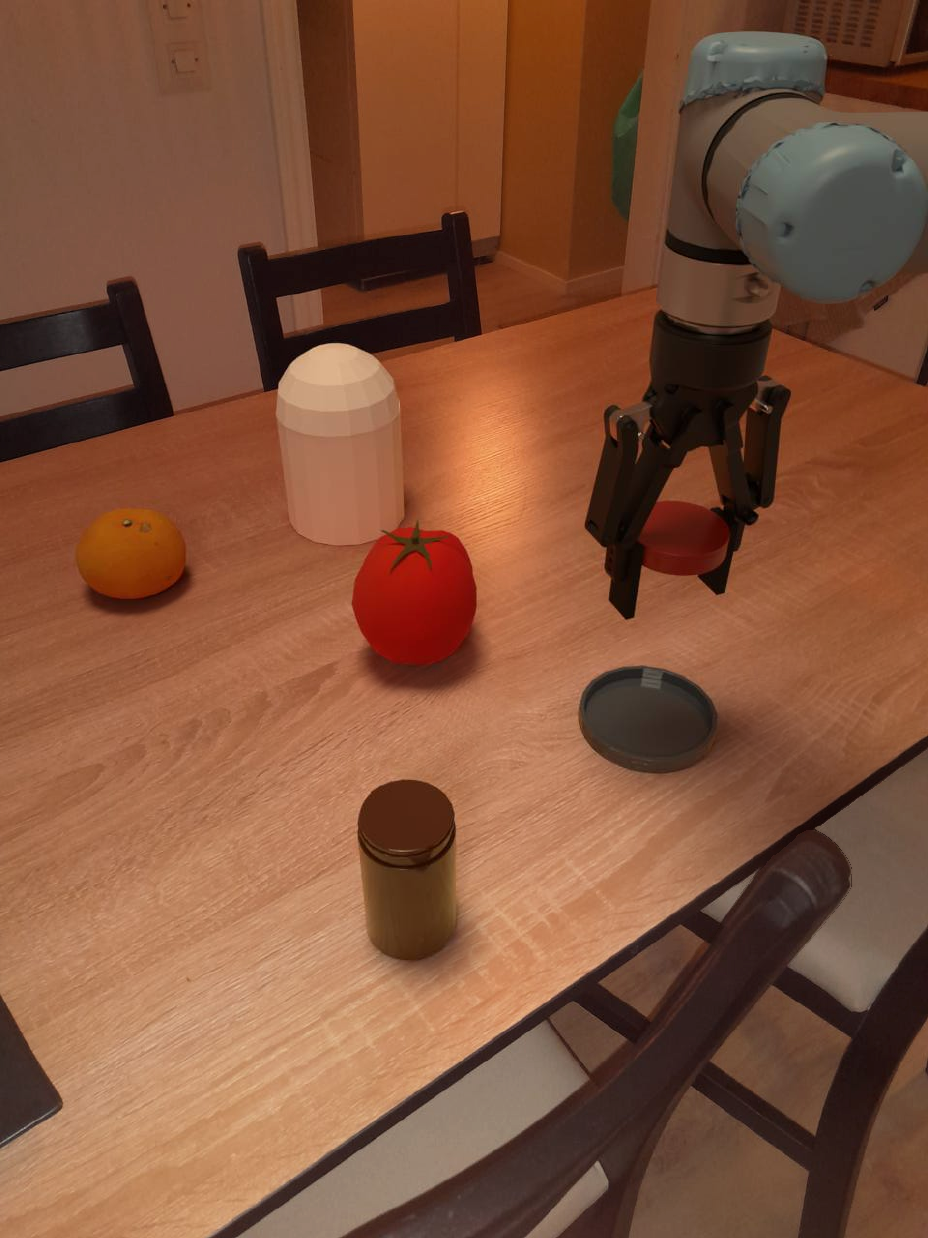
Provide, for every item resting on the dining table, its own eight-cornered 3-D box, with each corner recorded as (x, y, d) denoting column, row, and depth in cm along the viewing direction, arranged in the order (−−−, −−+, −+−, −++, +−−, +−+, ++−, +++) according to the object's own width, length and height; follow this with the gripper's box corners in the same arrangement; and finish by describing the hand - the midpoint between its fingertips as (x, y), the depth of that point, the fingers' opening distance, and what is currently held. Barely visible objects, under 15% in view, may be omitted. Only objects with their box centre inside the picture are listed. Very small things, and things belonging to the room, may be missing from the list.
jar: (474, 923, 69) (476, 816, 62) (405, 978, 65) (399, 872, 58) (416, 868, 72) (411, 762, 65) (348, 918, 69) (335, 811, 62)
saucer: (742, 749, 82) (745, 736, 81) (621, 789, 79) (623, 776, 78) (667, 665, 91) (669, 653, 90) (555, 698, 87) (556, 685, 86)
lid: (647, 510, 78) (650, 491, 76) (739, 537, 75) (743, 517, 73) (608, 556, 72) (610, 536, 71) (705, 587, 69) (709, 567, 68)
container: (395, 549, 106) (387, 378, 94) (275, 542, 107) (252, 372, 95) (412, 487, 116) (407, 325, 104) (303, 481, 117) (285, 320, 105)
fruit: (157, 623, 96) (141, 556, 91) (66, 603, 98) (45, 537, 93) (210, 565, 103) (198, 501, 98) (124, 548, 106) (108, 485, 101)
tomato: (506, 650, 93) (511, 534, 84) (408, 710, 86) (403, 591, 78) (426, 596, 99) (423, 484, 91) (329, 649, 93) (317, 533, 84)
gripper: (603, 359, 56) (574, 657, 71) (880, 311, 63) (802, 593, 77) (546, 315, 62) (529, 599, 76) (806, 274, 68) (746, 544, 82)
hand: (666, 596), depth 76 cm, fingers closed on lid, 8 cm apart
